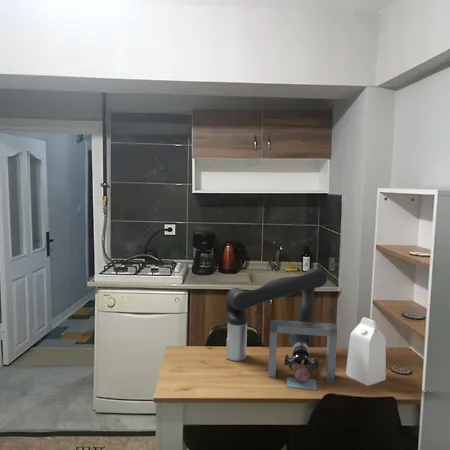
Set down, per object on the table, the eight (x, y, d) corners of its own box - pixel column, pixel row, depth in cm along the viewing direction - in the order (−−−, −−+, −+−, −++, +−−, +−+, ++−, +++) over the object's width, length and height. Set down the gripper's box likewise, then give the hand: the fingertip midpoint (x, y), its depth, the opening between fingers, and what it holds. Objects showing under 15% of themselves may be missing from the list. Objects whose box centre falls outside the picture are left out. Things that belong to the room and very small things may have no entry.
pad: (286, 387, 174) (287, 385, 174) (286, 378, 182) (286, 377, 182) (316, 390, 172) (316, 388, 172) (315, 381, 180) (315, 379, 180)
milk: (385, 379, 183) (389, 321, 180) (367, 385, 177) (370, 325, 174) (363, 369, 193) (366, 313, 190) (345, 374, 187) (348, 317, 184)
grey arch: (268, 376, 183) (270, 325, 180) (269, 368, 191) (270, 319, 188) (334, 382, 179) (337, 330, 176) (332, 374, 187) (335, 323, 184)
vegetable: (297, 386, 173) (298, 363, 172) (291, 379, 179) (292, 357, 178) (311, 385, 175) (312, 362, 174) (305, 378, 181) (306, 356, 180)
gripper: (285, 343, 193) (284, 358, 177) (317, 346, 190) (319, 361, 175) (284, 359, 193) (284, 375, 177) (316, 362, 191) (318, 378, 175)
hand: (301, 368), depth 176 cm, fingers open, 8 cm apart
